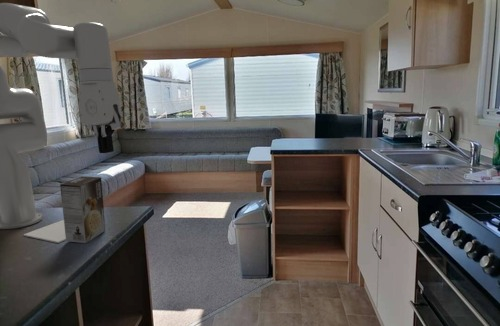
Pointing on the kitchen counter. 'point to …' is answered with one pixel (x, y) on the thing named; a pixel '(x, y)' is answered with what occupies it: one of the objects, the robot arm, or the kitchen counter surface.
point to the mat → (50, 232)
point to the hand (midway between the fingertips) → (106, 152)
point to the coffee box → (83, 209)
